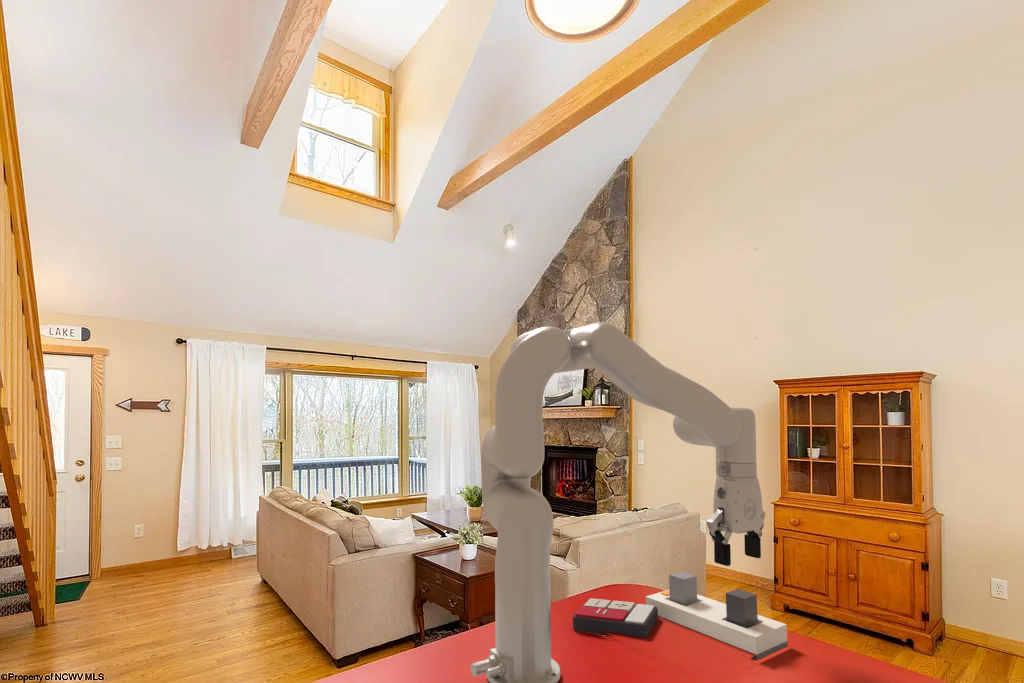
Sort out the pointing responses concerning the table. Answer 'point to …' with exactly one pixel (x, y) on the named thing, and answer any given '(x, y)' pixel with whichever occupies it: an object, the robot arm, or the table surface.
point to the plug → (741, 608)
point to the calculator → (615, 618)
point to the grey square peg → (683, 588)
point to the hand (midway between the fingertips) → (738, 560)
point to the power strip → (722, 624)
